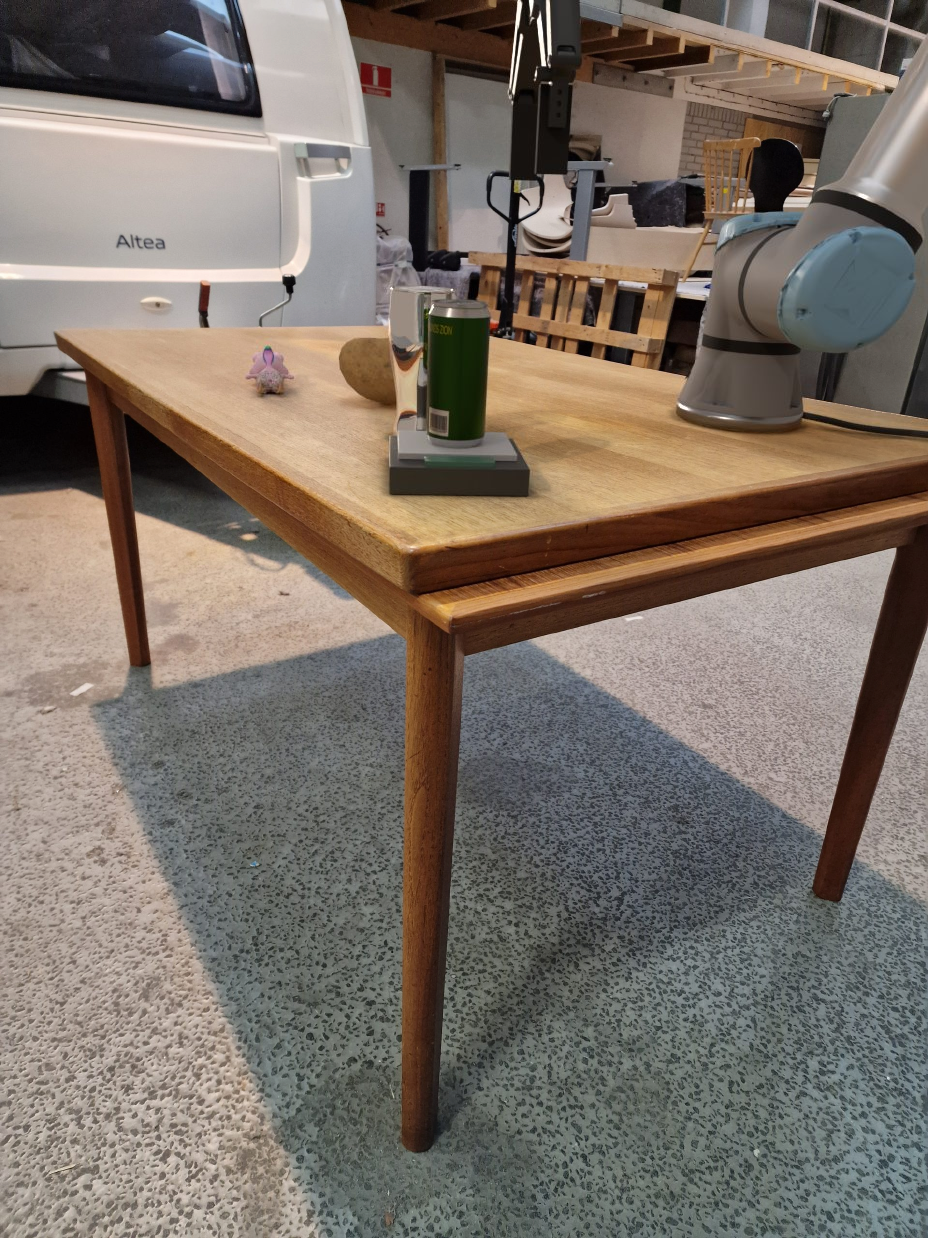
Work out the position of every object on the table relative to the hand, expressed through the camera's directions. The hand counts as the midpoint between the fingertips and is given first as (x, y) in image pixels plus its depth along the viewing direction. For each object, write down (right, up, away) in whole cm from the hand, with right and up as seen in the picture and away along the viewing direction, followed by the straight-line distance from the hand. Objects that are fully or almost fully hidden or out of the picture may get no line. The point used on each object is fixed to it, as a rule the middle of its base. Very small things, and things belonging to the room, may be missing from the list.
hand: (535, 177), depth 77 cm
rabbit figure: (-33, -10, +34) cm, 49 cm away
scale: (-8, -28, -1) cm, 29 cm away
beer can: (-8, -25, -2) cm, 26 cm away
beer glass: (-11, -22, +12) cm, 27 cm away
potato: (-15, -14, +28) cm, 35 cm away
